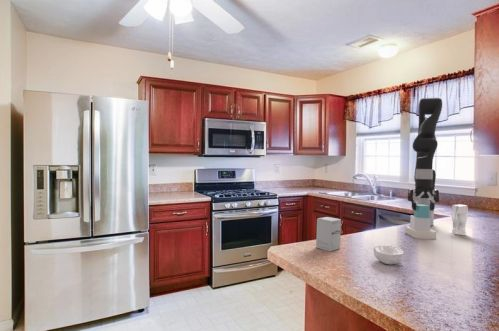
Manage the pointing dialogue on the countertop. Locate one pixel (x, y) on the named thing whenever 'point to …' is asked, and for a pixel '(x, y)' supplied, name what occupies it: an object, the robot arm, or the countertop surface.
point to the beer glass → (459, 219)
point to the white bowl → (388, 254)
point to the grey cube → (420, 223)
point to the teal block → (421, 211)
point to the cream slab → (421, 233)
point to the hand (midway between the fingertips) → (422, 210)
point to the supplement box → (328, 233)
